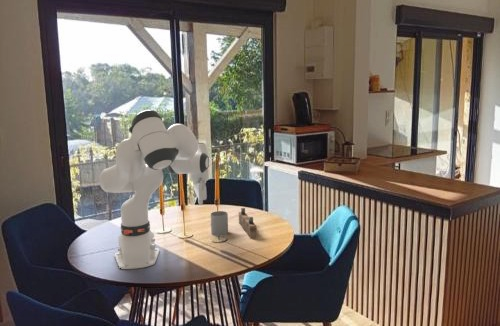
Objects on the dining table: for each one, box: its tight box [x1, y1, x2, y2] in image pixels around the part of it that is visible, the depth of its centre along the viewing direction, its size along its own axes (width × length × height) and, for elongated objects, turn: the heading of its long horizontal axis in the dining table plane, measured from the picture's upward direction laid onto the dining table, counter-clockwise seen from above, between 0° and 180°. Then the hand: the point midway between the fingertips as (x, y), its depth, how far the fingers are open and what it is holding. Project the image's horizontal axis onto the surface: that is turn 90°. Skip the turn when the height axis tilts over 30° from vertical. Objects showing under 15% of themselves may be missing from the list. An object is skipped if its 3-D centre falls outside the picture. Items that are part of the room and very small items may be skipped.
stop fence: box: [238, 207, 257, 239], centre depth 200 cm, size 24×3×9 cm, turn 15°
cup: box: [210, 210, 229, 237], centre depth 197 cm, size 8×8×10 cm
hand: (200, 204), depth 193 cm, fingers closed
